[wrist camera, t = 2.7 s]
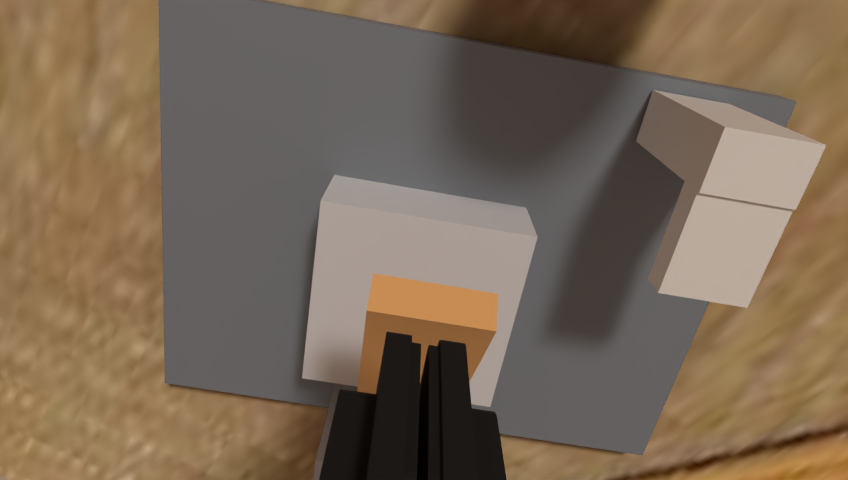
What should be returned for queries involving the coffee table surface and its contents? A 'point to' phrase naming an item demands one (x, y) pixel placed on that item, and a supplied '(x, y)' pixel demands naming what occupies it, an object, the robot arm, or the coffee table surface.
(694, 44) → the coffee table surface
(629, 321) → the board
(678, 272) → the block
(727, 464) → the coffee table surface
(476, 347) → the strap
